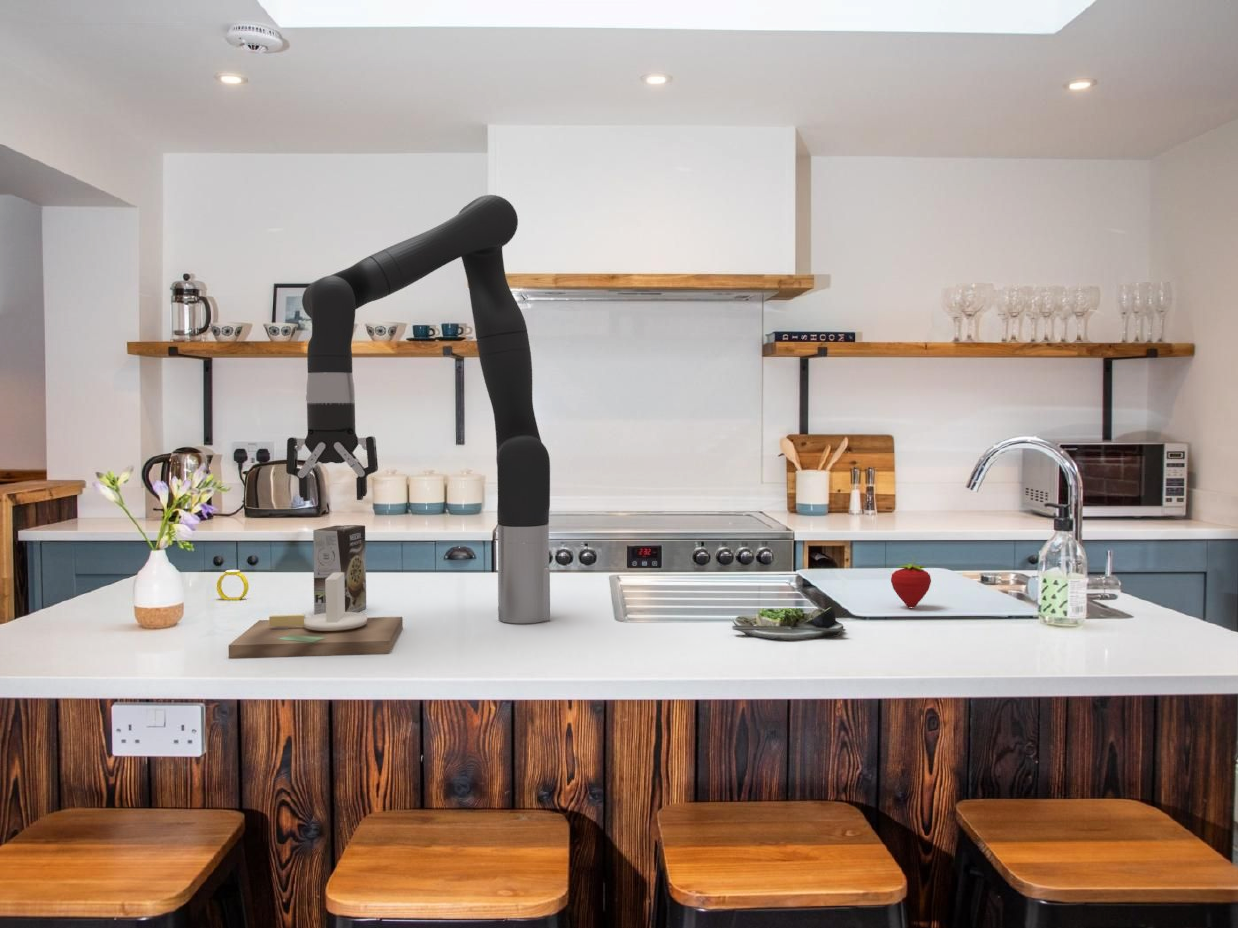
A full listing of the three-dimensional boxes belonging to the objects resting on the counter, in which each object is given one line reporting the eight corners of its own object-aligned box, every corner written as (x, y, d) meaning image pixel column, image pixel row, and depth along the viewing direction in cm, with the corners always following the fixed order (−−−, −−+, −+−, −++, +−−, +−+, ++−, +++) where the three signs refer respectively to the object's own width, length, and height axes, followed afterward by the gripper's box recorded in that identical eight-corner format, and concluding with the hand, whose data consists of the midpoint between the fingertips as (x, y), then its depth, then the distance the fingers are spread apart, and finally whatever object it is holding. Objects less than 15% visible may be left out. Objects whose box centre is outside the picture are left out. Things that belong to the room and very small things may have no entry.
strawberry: (885, 605, 187) (886, 553, 187) (923, 604, 188) (924, 553, 187) (896, 611, 182) (897, 558, 181) (936, 610, 182) (936, 557, 182)
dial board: (402, 628, 169) (402, 616, 169) (389, 653, 151) (389, 640, 151) (259, 631, 166) (259, 619, 166) (228, 658, 148) (228, 644, 148)
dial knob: (371, 616, 166) (370, 570, 166) (362, 629, 156) (361, 580, 156) (277, 619, 165) (276, 572, 164) (262, 632, 155) (261, 582, 154)
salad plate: (754, 649, 154) (754, 620, 154) (708, 626, 171) (708, 600, 171) (860, 639, 161) (860, 612, 160) (805, 618, 178) (806, 593, 177)
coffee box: (345, 618, 177) (343, 530, 176) (313, 616, 179) (311, 529, 178) (368, 608, 186) (366, 524, 185) (337, 607, 187) (335, 523, 187)
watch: (249, 599, 197) (251, 570, 197) (243, 602, 194) (245, 572, 194) (220, 597, 197) (222, 568, 197) (214, 600, 194) (215, 570, 194)
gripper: (378, 401, 163) (380, 497, 164) (291, 402, 162) (294, 499, 163) (371, 400, 156) (374, 501, 157) (280, 401, 155) (283, 503, 155)
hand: (333, 500), depth 160 cm, fingers open, 8 cm apart
